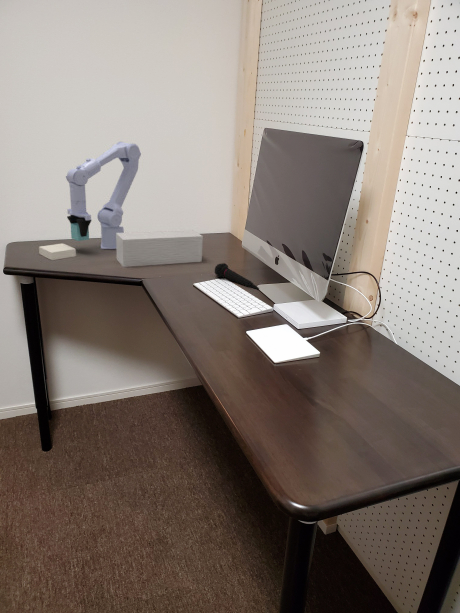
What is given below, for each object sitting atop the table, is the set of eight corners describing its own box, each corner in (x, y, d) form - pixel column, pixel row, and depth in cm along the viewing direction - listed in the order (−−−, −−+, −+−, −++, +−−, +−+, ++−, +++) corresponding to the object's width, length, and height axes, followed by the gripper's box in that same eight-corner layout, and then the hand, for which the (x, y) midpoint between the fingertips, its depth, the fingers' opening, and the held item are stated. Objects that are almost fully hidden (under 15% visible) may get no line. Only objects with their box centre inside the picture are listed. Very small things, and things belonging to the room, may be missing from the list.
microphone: (259, 296, 163) (218, 275, 173) (265, 281, 162) (223, 261, 172) (251, 295, 158) (209, 274, 169) (257, 280, 157) (215, 259, 168)
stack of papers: (191, 255, 196) (192, 230, 192) (201, 262, 187) (202, 236, 183) (116, 259, 182) (116, 232, 178) (123, 267, 173) (122, 239, 169)
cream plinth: (63, 250, 188) (62, 243, 187) (75, 256, 182) (75, 248, 180) (39, 254, 181) (38, 246, 180) (51, 260, 175) (51, 252, 174)
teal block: (82, 236, 189) (81, 222, 187) (89, 239, 186) (88, 224, 184) (71, 238, 186) (70, 223, 184) (77, 240, 183) (77, 226, 181)
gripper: (59, 198, 182) (61, 232, 187) (78, 204, 173) (80, 239, 178) (75, 197, 187) (77, 230, 192) (95, 203, 178) (96, 237, 183)
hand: (80, 234), depth 186 cm, fingers closed on teal block, 5 cm apart
